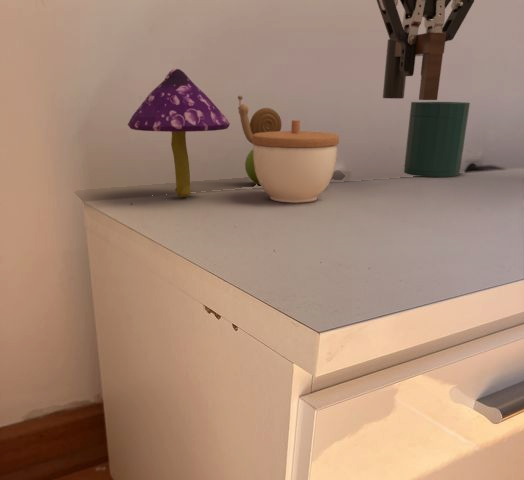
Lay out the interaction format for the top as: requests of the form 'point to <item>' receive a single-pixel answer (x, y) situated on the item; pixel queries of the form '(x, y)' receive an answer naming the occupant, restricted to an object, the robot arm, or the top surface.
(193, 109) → the decorative mushroom
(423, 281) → the top surface
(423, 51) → the brown wooden arch
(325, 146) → the trinket box
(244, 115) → the snail figurine
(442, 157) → the jar
